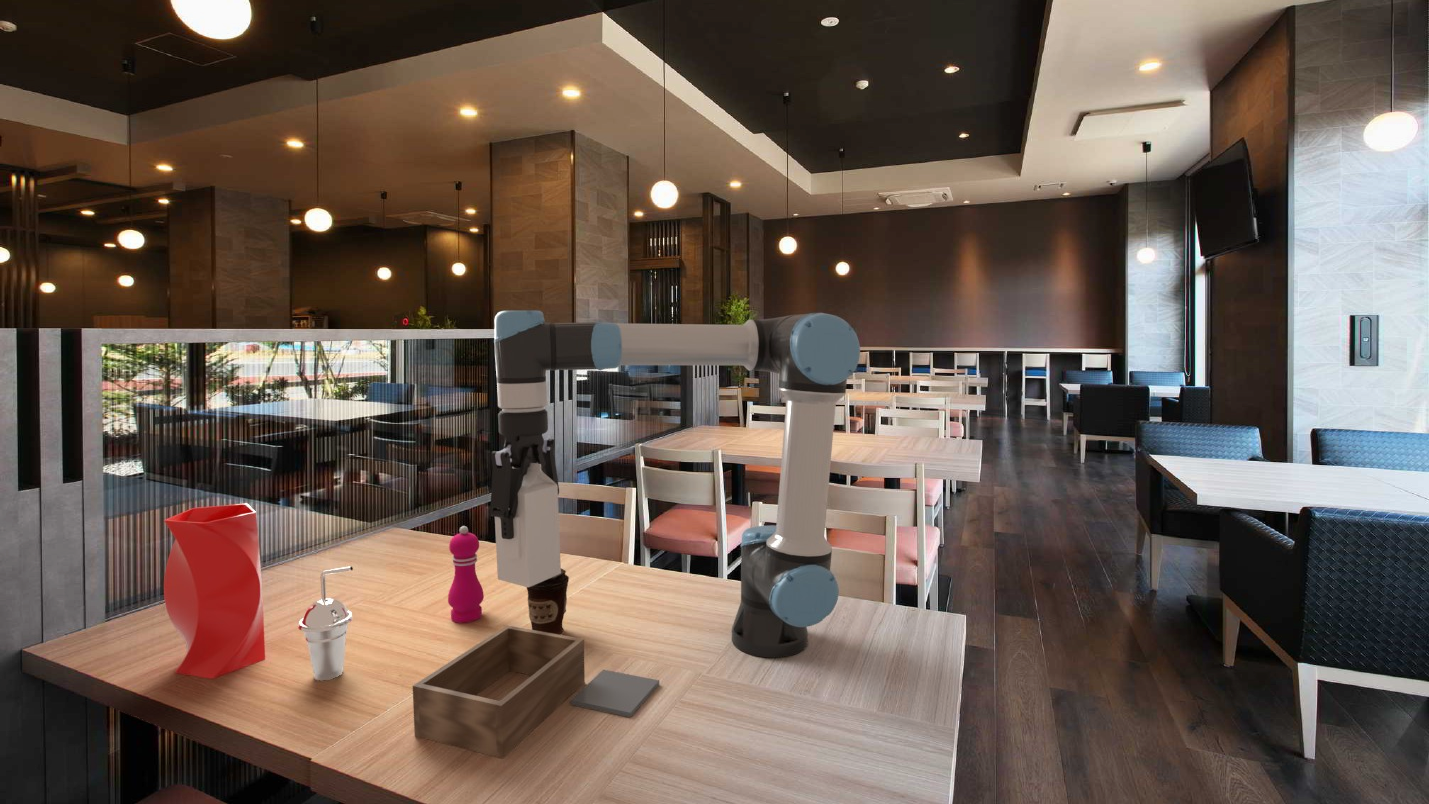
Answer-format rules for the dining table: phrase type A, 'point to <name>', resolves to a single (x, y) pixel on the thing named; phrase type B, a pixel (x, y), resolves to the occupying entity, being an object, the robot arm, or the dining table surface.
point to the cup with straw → (326, 632)
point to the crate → (502, 725)
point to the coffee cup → (548, 604)
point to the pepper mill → (465, 578)
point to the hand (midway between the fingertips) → (528, 548)
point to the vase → (216, 589)
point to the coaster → (615, 693)
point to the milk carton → (533, 532)
